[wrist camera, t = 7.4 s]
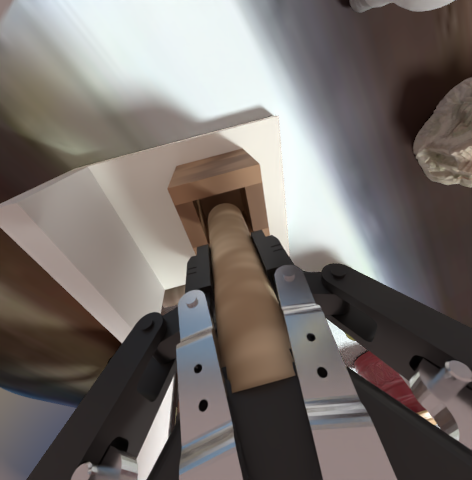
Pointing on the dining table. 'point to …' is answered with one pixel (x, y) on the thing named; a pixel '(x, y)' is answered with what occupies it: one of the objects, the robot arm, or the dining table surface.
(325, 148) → the dining table surface
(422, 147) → the ceramic cottage
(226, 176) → the wooden square-hole block
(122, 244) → the l-shaped bookend
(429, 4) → the lightbulb
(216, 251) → the dowel
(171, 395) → the coffee press
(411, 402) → the canister
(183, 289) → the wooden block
